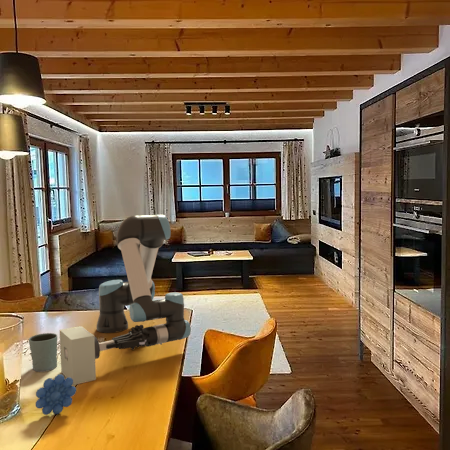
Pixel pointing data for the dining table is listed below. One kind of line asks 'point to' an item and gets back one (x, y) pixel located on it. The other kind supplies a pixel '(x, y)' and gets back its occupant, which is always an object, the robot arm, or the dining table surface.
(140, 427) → the dining table surface
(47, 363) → the grey-green cup
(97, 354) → the knob
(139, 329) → the fruit
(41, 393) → the grapes
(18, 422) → the dining table surface
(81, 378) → the cream rectangular block
